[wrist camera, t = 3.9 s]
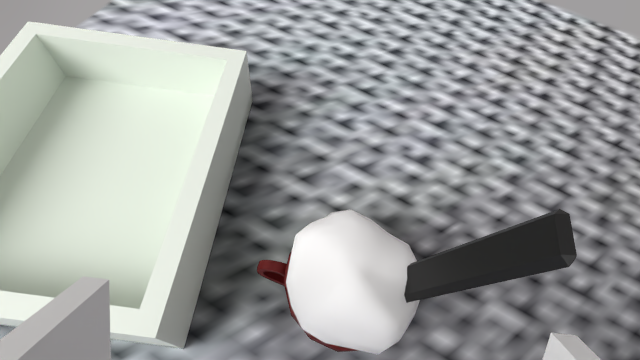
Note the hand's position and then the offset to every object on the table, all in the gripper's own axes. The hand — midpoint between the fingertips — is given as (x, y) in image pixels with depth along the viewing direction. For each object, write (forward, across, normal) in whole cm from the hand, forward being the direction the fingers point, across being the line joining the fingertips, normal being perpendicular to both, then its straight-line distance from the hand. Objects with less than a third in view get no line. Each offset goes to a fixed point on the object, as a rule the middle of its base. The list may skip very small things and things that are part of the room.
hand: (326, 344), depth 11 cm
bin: (+12, -13, 0) cm, 18 cm away
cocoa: (+9, +2, -4) cm, 10 cm away
